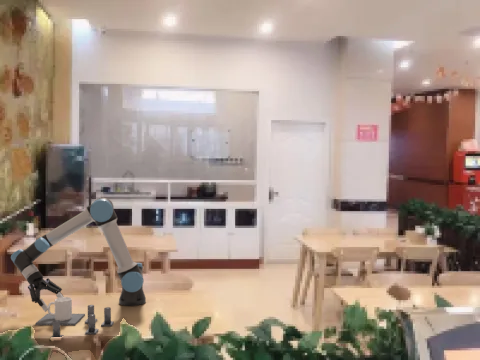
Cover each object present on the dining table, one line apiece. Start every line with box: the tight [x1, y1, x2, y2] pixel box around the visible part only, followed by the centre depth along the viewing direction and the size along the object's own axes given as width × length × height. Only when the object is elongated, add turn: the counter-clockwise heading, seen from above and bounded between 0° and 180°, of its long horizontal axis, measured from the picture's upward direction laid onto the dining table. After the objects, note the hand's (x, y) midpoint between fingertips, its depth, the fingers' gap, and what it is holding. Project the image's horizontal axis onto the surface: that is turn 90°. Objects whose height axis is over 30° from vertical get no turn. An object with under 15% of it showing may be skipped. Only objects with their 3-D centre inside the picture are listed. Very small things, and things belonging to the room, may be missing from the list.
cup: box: [47, 296, 73, 321], centre depth 263 cm, size 8×12×10 cm
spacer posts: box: [51, 304, 115, 337], centre depth 248 cm, size 23×29×8 cm
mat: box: [34, 313, 86, 326], centre depth 264 cm, size 20×16×1 cm
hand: (56, 306), depth 264 cm, fingers open, 13 cm apart
